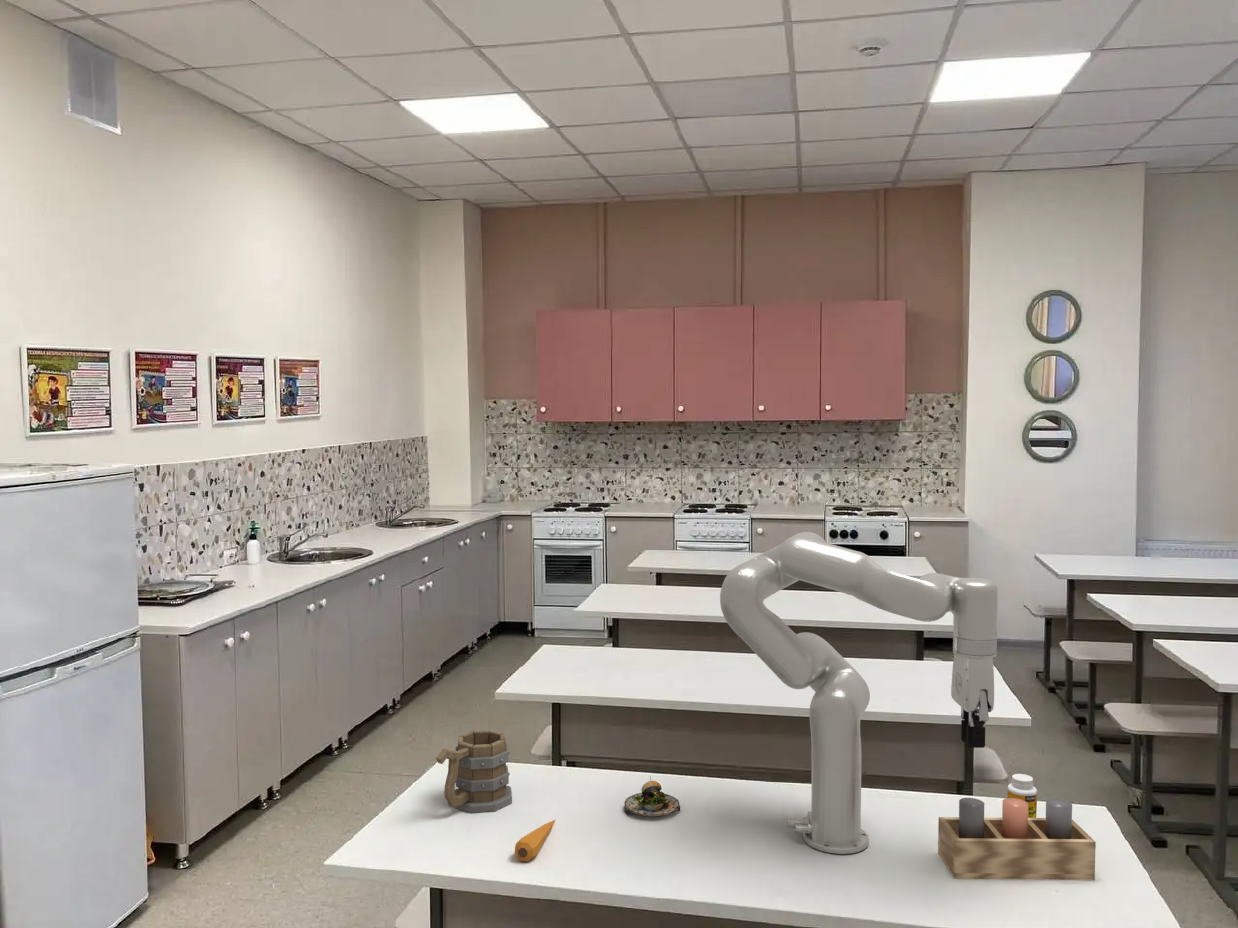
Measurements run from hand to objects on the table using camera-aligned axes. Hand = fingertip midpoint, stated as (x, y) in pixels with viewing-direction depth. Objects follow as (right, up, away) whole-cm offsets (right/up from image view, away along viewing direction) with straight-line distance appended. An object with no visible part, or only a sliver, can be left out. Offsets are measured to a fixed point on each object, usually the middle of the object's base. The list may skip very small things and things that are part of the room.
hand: (972, 743), depth 177 cm
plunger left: (0, -18, +1) cm, 18 cm away
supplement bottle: (+16, -22, +18) cm, 33 cm away
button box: (+8, -23, +1) cm, 24 cm away
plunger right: (+16, -18, +1) cm, 24 cm away
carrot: (-81, -23, +12) cm, 85 cm away
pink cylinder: (+8, -18, +1) cm, 20 cm away
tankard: (-97, -22, +29) cm, 104 cm away
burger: (-58, -22, +27) cm, 68 cm away
